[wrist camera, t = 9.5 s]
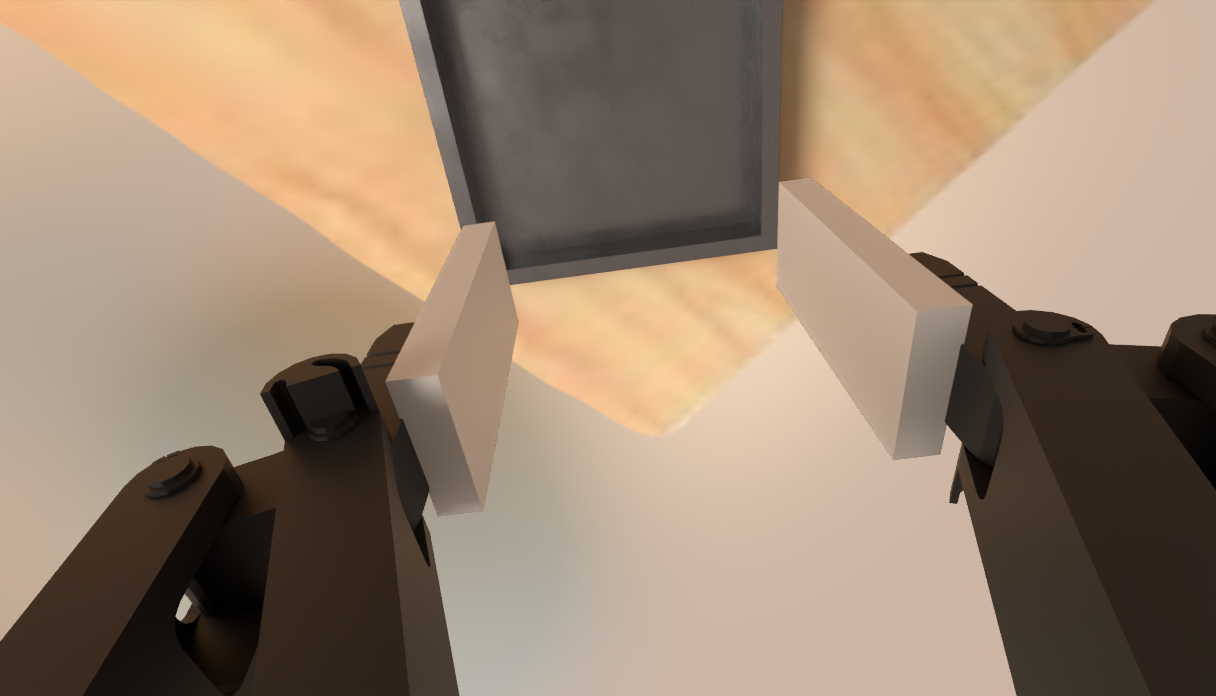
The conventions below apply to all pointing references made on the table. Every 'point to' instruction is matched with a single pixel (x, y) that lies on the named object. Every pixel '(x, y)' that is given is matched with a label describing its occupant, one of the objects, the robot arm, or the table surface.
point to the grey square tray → (606, 126)
